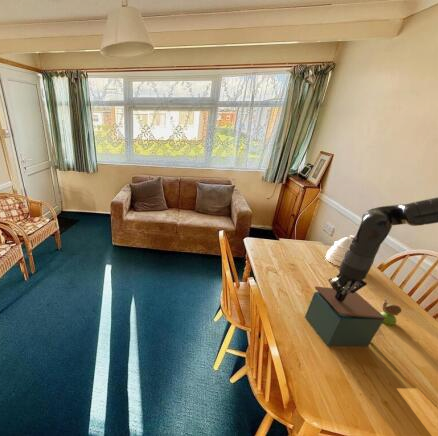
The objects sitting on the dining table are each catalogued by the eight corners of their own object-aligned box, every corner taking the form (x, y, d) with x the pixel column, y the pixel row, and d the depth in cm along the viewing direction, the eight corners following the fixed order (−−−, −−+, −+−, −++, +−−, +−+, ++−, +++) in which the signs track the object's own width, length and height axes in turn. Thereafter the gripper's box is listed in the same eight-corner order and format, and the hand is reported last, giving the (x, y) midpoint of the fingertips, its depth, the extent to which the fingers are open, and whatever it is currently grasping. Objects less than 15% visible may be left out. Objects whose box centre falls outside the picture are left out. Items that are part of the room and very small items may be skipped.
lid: (340, 315, 82) (341, 313, 81) (314, 287, 94) (315, 286, 94) (384, 319, 82) (385, 317, 82) (352, 291, 95) (353, 290, 95)
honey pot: (344, 257, 144) (355, 232, 136) (356, 269, 132) (368, 242, 125) (321, 254, 146) (330, 229, 139) (331, 266, 135) (342, 239, 128)
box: (327, 346, 88) (340, 319, 82) (304, 316, 101) (314, 291, 95) (368, 346, 88) (384, 319, 82) (340, 317, 101) (352, 291, 95)
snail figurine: (370, 315, 102) (382, 295, 97) (389, 320, 99) (402, 300, 94) (375, 324, 98) (387, 303, 93) (395, 330, 95) (409, 309, 90)
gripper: (346, 269, 77) (328, 307, 84) (385, 269, 77) (364, 307, 84) (330, 256, 84) (315, 292, 91) (365, 256, 84) (348, 292, 91)
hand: (338, 299), depth 88 cm, fingers closed
